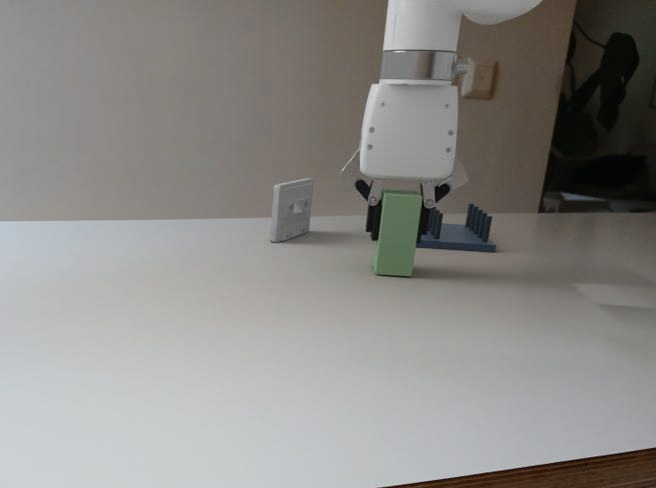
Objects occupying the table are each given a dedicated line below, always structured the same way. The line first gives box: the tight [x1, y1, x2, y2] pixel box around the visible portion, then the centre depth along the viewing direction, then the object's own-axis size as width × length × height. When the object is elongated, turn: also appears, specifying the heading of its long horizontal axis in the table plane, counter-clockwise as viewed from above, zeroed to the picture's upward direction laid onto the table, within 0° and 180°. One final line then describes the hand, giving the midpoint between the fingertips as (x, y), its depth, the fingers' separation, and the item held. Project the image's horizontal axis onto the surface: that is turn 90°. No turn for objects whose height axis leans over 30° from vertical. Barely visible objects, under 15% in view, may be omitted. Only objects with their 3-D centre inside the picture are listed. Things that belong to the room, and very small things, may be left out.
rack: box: [416, 202, 497, 253], centre depth 107 cm, size 15×16×4 cm
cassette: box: [269, 177, 315, 243], centre depth 104 cm, size 12×2×8 cm, turn 148°
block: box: [371, 187, 422, 277], centre depth 86 cm, size 4×6×9 cm, turn 170°
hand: (394, 238), depth 86 cm, fingers closed on block, 4 cm apart
